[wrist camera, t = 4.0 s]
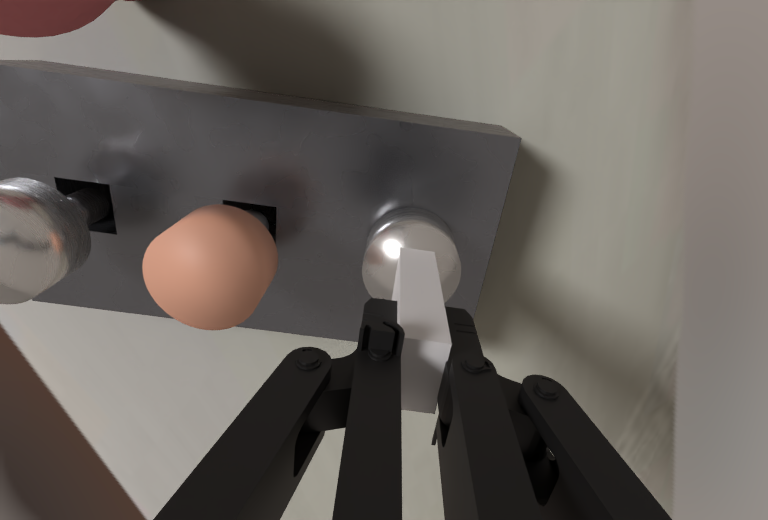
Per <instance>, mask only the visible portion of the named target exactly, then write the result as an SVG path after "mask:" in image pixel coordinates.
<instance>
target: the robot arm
mask: <svg viewBox="0 0 768 520" xmlns="http://www.w3.org/2000/svg"><path fill="white" fill-rule="evenodd" d="M437 402H438V409H439V415H438V419H437V423H436V427H435V431H434V435H433V439H432V445H435V444H436V440H437V442H438V453H439V463H440V474H441V484H442V495H443V505H444V516H445V520H672V519H671V518H670V516H669V515H668V514H667V513H666V512H665V510H664V509H663V508H662V507H661V505H660V504H659V503H658V502H657V500H656V499H655V498H654V497H653V496H652V494H651V493H650V492H649V491H648V489H647V488H646V487H645V486H644V485H643V483H642V482H641V481H640V480H639V478H638V477H637V476H636V475H635V473H634V472H633V471H632V470H631V469H630V467H629V466H628V465H627V464H626V462H625V461H624V460H623V459H622V458H621V456H620V455H619V454H618V453H617V451H616V450H615V449H614V448H613V446H612V445H611V444H610V443H609V442H608V440H607V439H606V438H605V437H604V435H603V434H602V433H601V432H600V431H599V429H598V428H597V427H596V426H595V424H594V423H593V422H592V421H591V419H590V418H589V417H588V416H587V415H586V413H585V412H584V411H583V410H582V408H581V407H580V406H579V405H578V404H577V402H576V401H575V400H574V399H573V397H572V396H571V395H570V394H569V392H568V391H567V390H566V389H565V388H564V387H563V386H562V385H561V384H560V383H558V382H556V381H555V380H553V379H551V378H548V377H545V376H542V375H530V376H527V377H526V378H525V379H523V382H522V384H521V383H518V382H515V381H512V380H509V379H507V378H504V377H502V376H500V375H498V374H497V372H496V369H495V367H494V365H493V363H492V362H491V361H489V360H488V359H487V358H486V357H484V356H483V353H482V349H481V346H480V342H479V339H478V335H477V332H476V328H475V325H474V321H473V318H472V316H471V315H470V314H469V313H468V312H467V311H466V310H465V309H461V308H454V307H446V306H445V305H444V300H443V294H442V289H441V284H440V278H439V273H438V268H437V262H436V257H435V252H432V251H424V250H417V249H410V248H402V247H400V252H399V258H398V264H397V270H396V276H395V283H394V289H393V295H392V300H386V299H378V298H370V299H369V300H368V301H367V302H366V303H365V304H364V311H363V317H362V324H361V327H360V331H359V339H358V347H357V349H356V350H355V351H354V352H353V353H352V354H350V355H348V356H345V357H342V358H336V359H331V357H330V356H329V355H328V354H327V353H326V352H325V351H323V350H321V349H319V348H314V347H302V348H298V349H295V350H293V351H292V352H290V353H289V354H288V355H287V356H286V357H285V358H284V360H283V361H282V362H281V363H280V364H279V366H278V367H277V368H276V369H275V371H274V372H273V373H272V374H271V376H270V377H269V378H268V379H267V380H266V382H265V383H264V384H263V385H262V387H261V388H260V389H259V390H258V392H257V393H256V394H255V395H254V396H253V398H252V399H251V400H250V401H249V403H248V404H247V405H246V406H245V408H244V409H243V410H242V411H241V412H240V414H239V415H238V416H237V417H236V419H235V420H234V421H233V422H232V423H231V425H230V426H229V427H228V428H227V430H226V431H225V432H224V433H223V435H222V436H221V437H220V438H219V439H218V441H217V442H216V443H215V444H214V446H213V447H212V448H211V449H210V451H209V452H208V453H207V454H206V455H205V457H204V458H203V459H202V460H201V462H200V463H199V464H198V465H197V467H196V468H195V469H194V470H193V471H192V473H191V474H190V475H189V476H188V478H187V479H186V480H185V481H184V482H183V484H182V485H181V486H180V487H179V489H178V490H177V491H176V492H175V494H174V495H173V496H172V497H171V498H170V500H169V501H168V502H167V503H166V505H165V506H164V507H163V508H162V510H161V511H160V512H159V513H158V514H157V516H156V517H155V518H154V519H153V520H280V518H281V517H282V515H283V513H284V511H285V509H286V507H287V505H288V503H289V501H290V499H291V497H292V496H293V494H294V492H295V490H296V488H297V486H298V484H299V482H300V480H301V478H302V476H303V475H304V473H305V471H306V469H307V467H308V465H309V463H310V461H311V459H312V457H313V455H314V454H315V452H316V450H317V448H318V446H319V444H320V442H321V440H322V438H323V436H324V433H325V431H326V430H333V429H339V428H345V427H346V429H345V436H344V443H343V450H342V457H341V463H340V470H339V477H338V484H337V491H336V498H335V504H334V511H333V518H332V520H402V449H401V410H409V411H416V412H424V413H433V414H435V410H436V406H437ZM549 449H550V450H549ZM550 451H551V452H552V453H551V452H550ZM552 454H553V455H554V456H553V455H552Z"/></svg>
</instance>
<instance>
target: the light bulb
mask: <svg viewBox="0 0 768 520" xmlns="http://www.w3.org/2000/svg"><path fill="white" fill-rule="evenodd" d="M114 1H117V0H0V34H2V35H9V36H18V37H46V36H55V35H59V34H63V33H67V32H71V31H73V30H76V29H79V28H81V27H83V26H84V25H86V24H88V23H90V22H92V21H94V20H95V19H96V18H97V17H99V16H100V15H101V14H102V13H103V12H104V11H105V10H106V9H107V8H108V7H109V6H110V5H111V4H112V3H113V2H114ZM125 1H134V0H125ZM139 1H140V0H139Z"/></svg>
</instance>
